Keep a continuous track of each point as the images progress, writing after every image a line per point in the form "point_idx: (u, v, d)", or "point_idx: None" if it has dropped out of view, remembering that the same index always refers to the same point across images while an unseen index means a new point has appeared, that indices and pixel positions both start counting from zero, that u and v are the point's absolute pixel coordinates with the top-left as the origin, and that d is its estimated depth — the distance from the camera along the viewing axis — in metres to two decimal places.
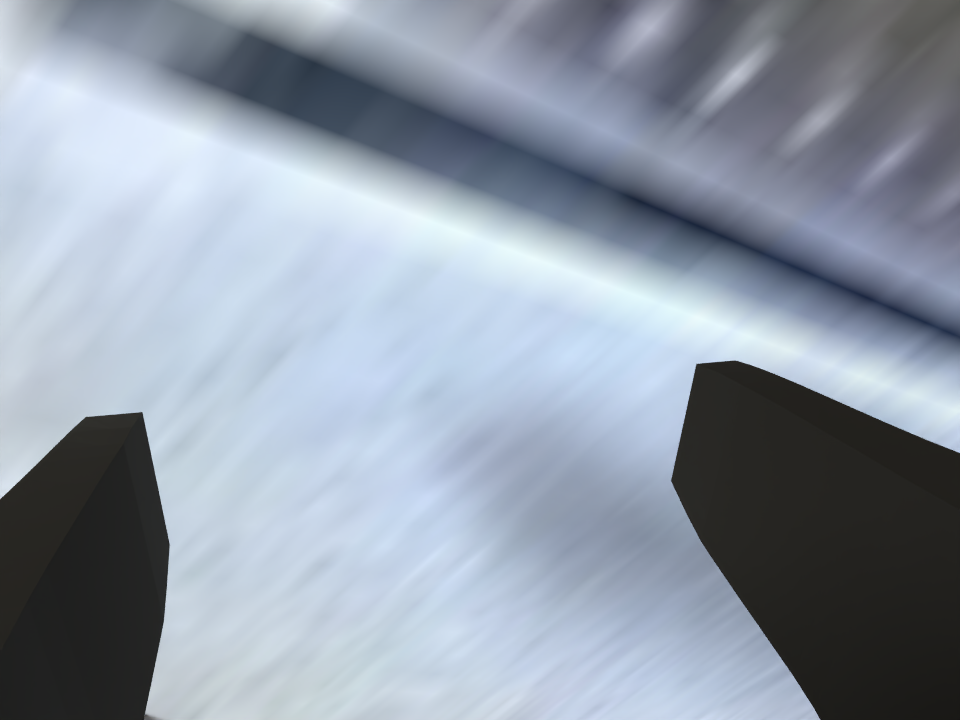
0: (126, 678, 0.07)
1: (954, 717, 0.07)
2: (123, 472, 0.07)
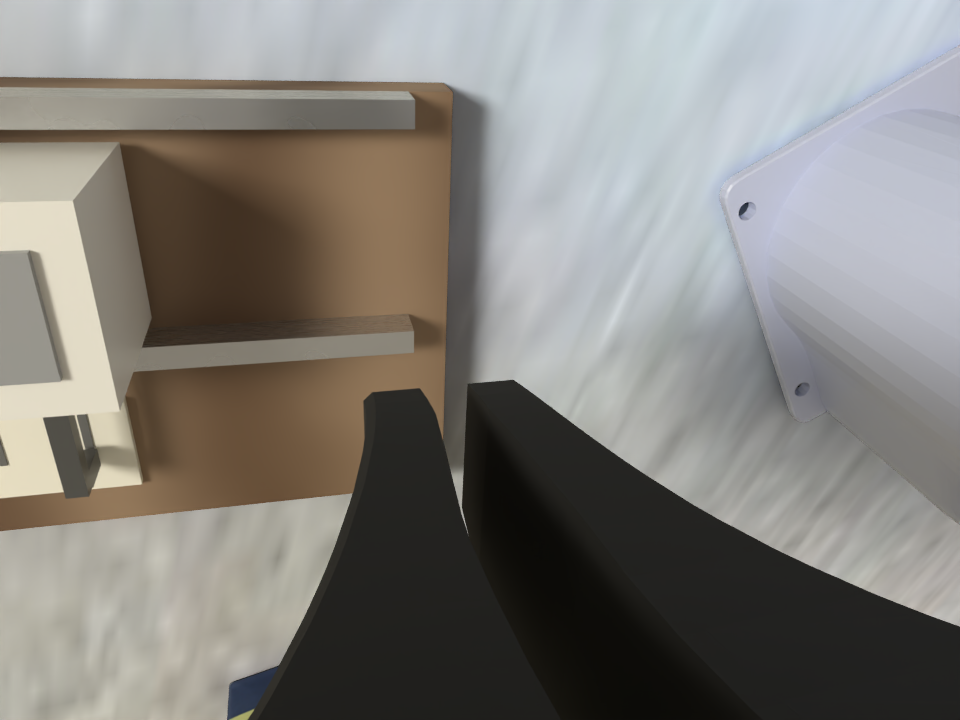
0: None
1: None
2: None
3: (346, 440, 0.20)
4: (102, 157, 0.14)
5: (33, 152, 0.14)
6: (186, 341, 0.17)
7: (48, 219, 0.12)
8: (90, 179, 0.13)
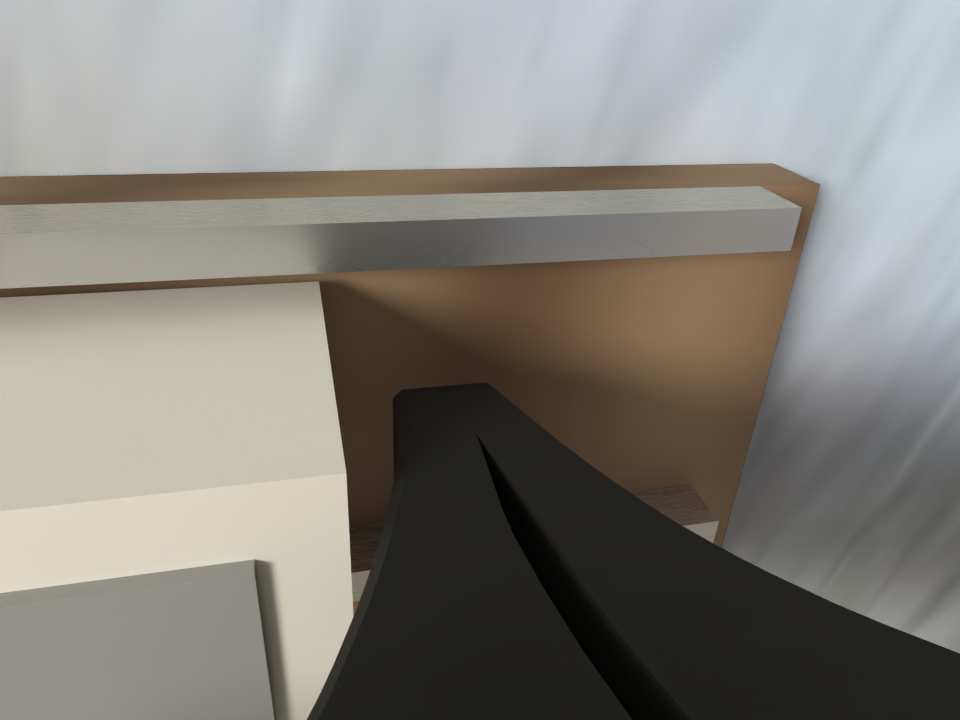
0: None
1: None
2: None
3: None
4: (317, 325, 0.08)
5: (198, 316, 0.08)
6: None
7: (297, 508, 0.06)
8: None
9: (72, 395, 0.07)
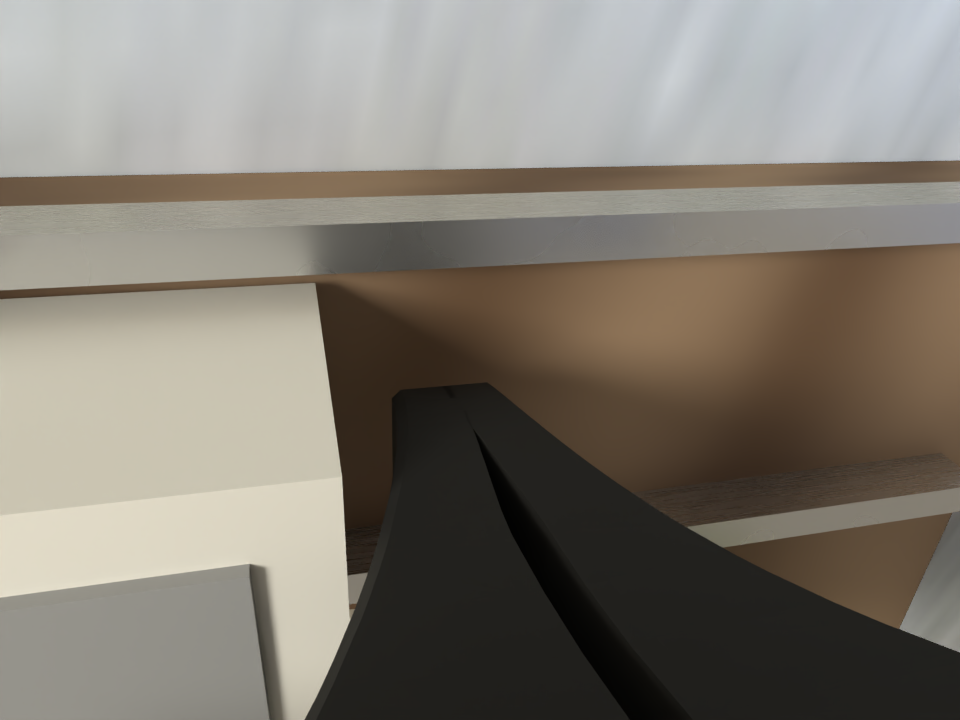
0: None
1: None
2: None
3: None
4: (313, 327, 0.08)
5: (194, 318, 0.08)
6: (720, 512, 0.13)
7: (293, 512, 0.06)
8: None
9: (66, 399, 0.07)
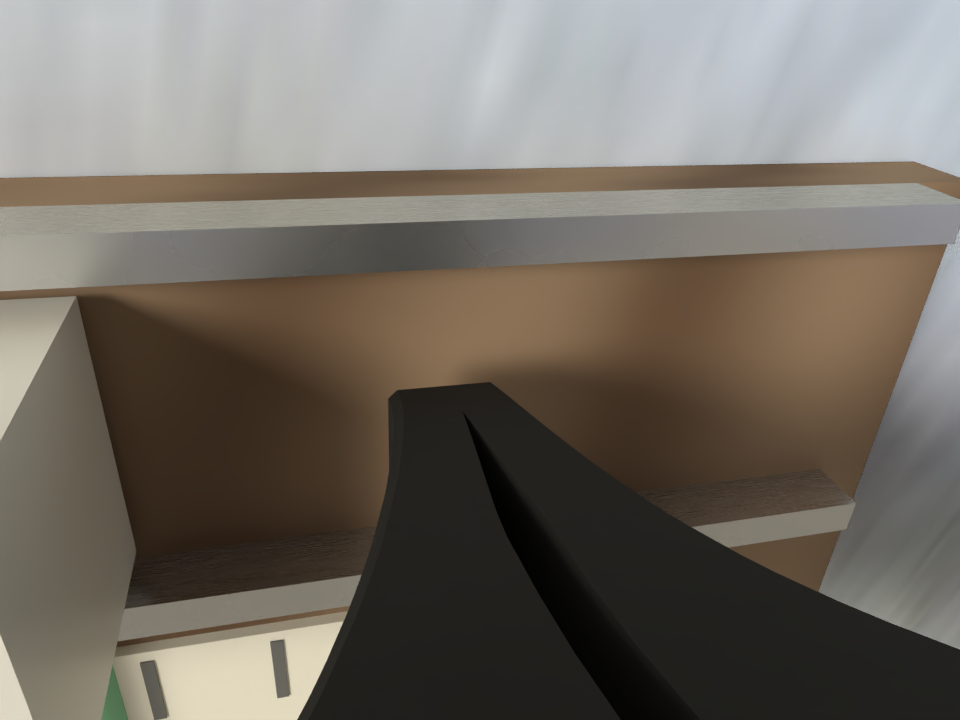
0: None
1: None
2: None
3: None
4: (41, 346, 0.08)
5: None
6: None
7: None
8: (8, 427, 0.06)
9: None
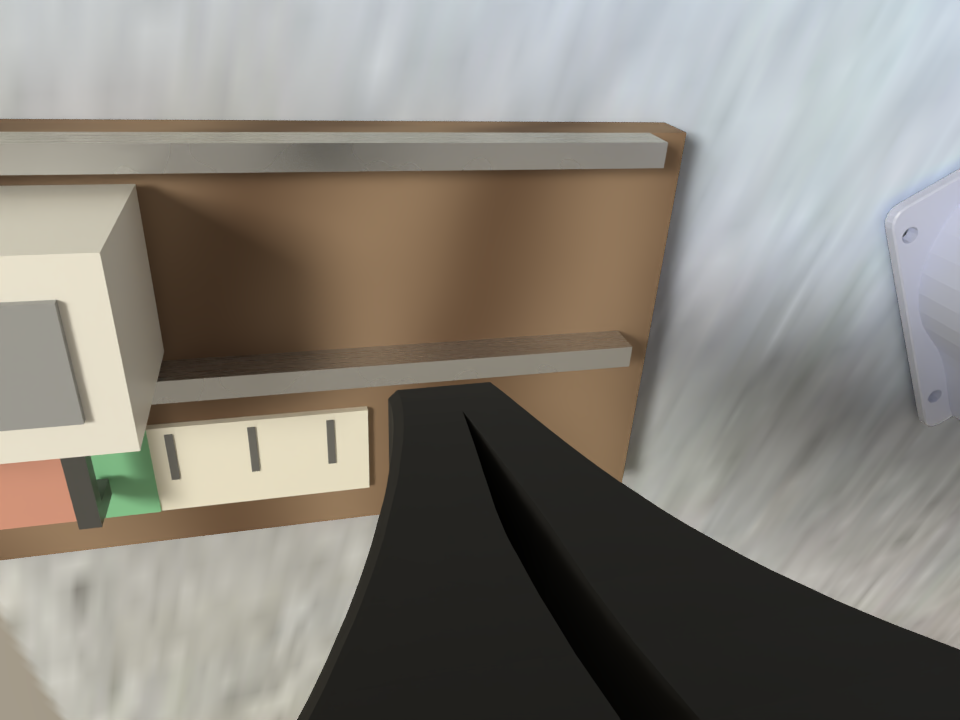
0: None
1: None
2: None
3: None
4: (121, 202, 0.14)
5: (53, 196, 0.15)
6: (438, 357, 0.19)
7: (76, 270, 0.12)
8: (112, 227, 0.13)
9: None
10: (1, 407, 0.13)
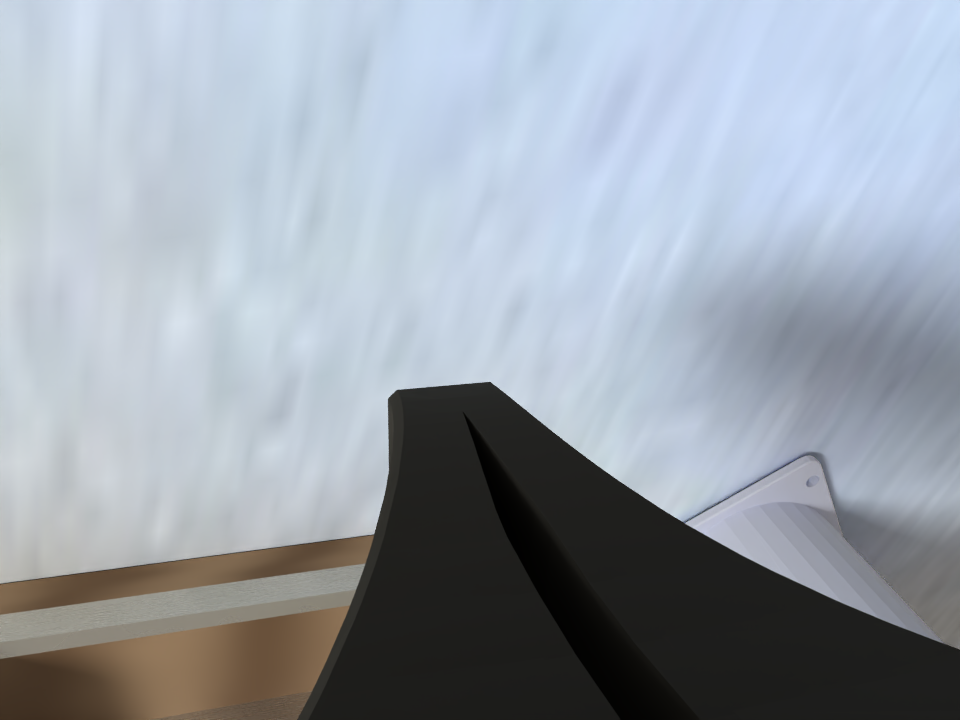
0: None
1: None
2: None
3: None
4: None
5: None
6: None
7: None
8: None
9: None
10: None
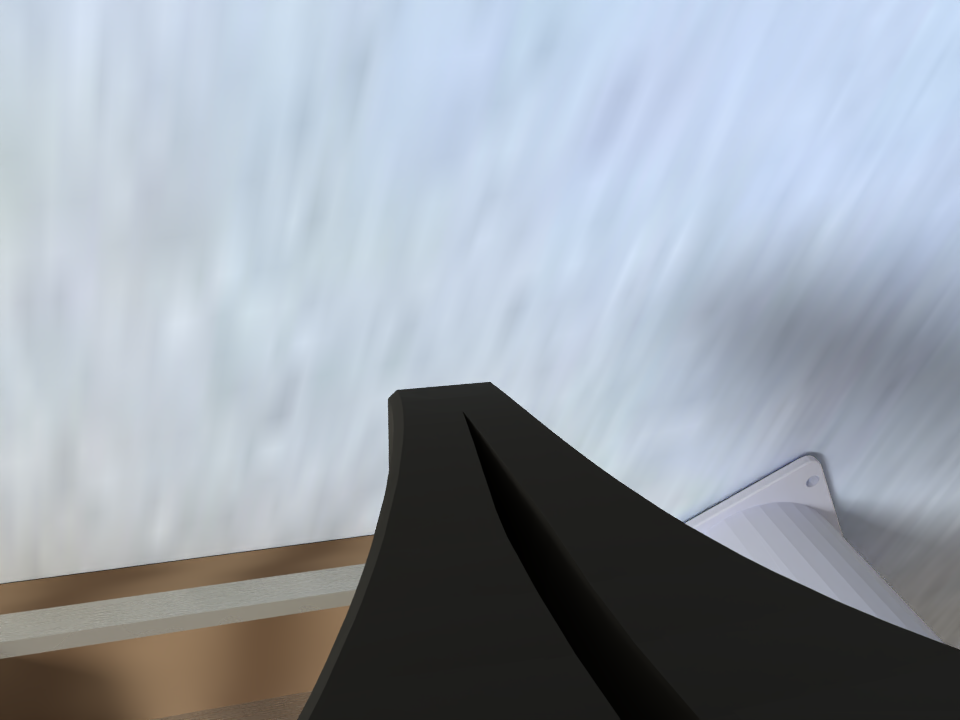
0: None
1: None
2: None
3: None
4: None
5: None
6: None
7: None
8: None
9: None
10: None
